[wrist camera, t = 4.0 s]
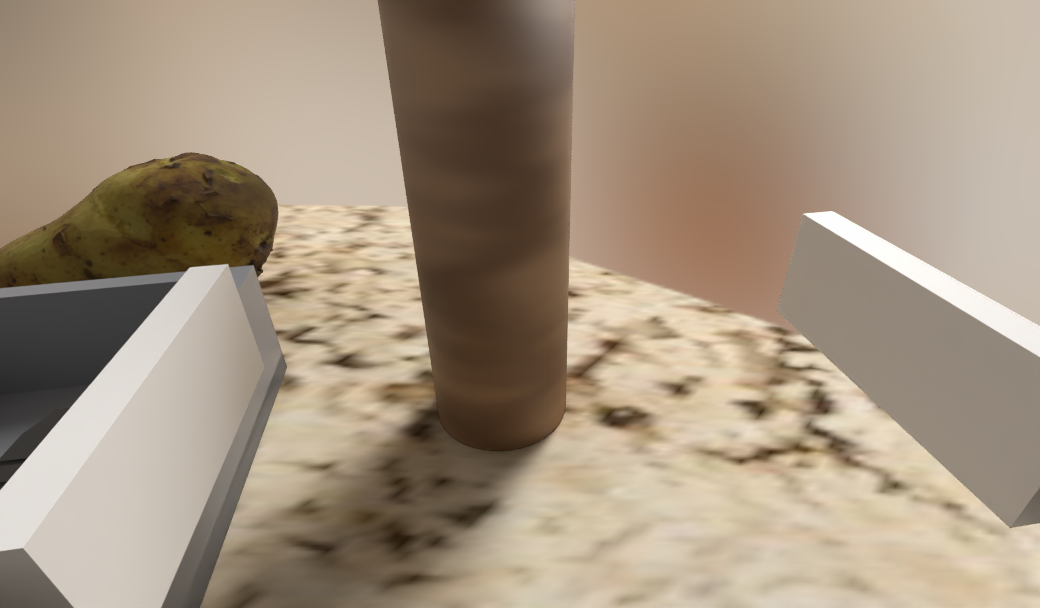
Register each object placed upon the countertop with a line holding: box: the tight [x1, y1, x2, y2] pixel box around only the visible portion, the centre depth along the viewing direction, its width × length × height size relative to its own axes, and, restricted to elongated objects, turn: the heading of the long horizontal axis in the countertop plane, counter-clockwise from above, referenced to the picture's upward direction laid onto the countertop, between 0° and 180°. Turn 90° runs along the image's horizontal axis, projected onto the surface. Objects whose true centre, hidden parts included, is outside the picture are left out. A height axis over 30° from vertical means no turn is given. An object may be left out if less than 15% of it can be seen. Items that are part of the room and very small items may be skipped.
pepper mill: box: [378, 0, 575, 451], centre depth 16 cm, size 5×5×17 cm
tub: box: [0, 265, 287, 608], centre depth 16 cm, size 12×12×5 cm
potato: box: [0, 153, 278, 288], centre depth 25 cm, size 8×13×8 cm, turn 80°
